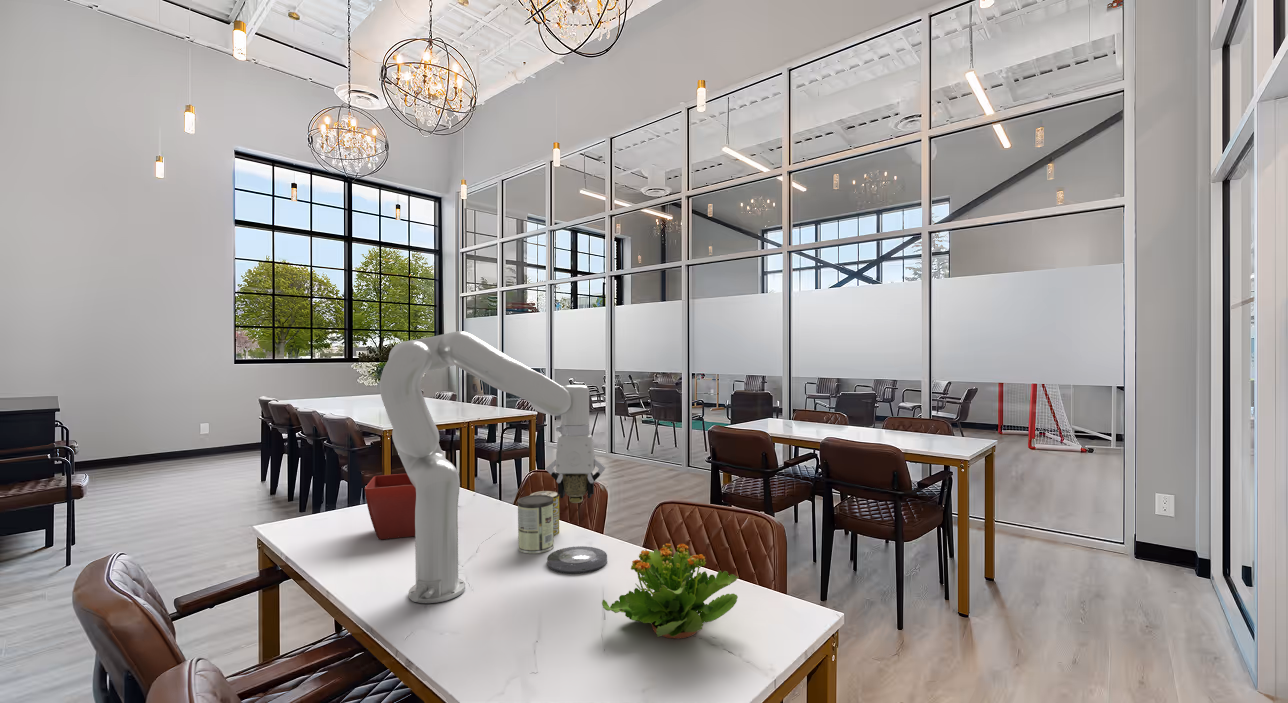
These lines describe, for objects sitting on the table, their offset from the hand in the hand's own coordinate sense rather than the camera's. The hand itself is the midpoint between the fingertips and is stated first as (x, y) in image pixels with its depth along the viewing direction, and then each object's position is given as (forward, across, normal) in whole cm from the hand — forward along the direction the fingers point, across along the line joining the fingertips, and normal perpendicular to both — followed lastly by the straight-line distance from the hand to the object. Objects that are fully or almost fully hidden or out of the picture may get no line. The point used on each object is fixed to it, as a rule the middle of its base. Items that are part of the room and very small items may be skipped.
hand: (576, 496), depth 152 cm
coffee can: (+18, -14, +11) cm, 25 cm away
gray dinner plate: (+18, 0, 0) cm, 18 cm away
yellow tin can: (+18, -14, +25) cm, 34 cm away
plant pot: (+18, -60, +24) cm, 67 cm away
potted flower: (+18, +27, -35) cm, 48 cm away
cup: (+2, 0, 0) cm, 2 cm away
